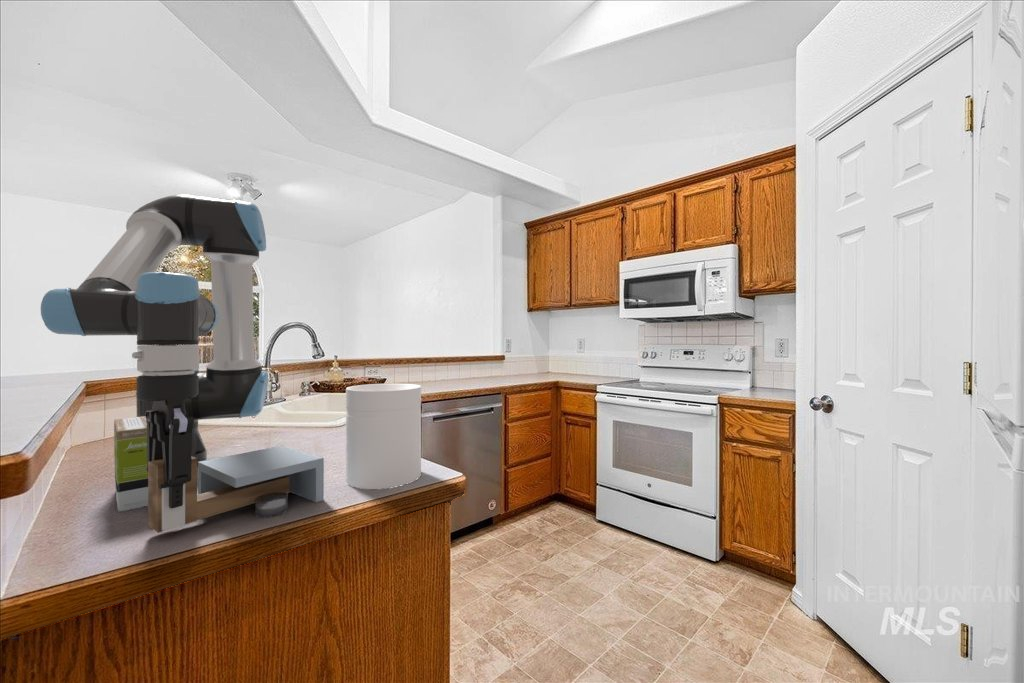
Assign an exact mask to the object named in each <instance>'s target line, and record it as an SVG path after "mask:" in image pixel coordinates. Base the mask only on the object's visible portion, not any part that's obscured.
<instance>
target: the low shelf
mask: <svg viewBox="0 0 1024 683" xmlns="http://www.w3.org/2000/svg"><path fill="white" fill-rule="evenodd" d="M324 460H325V458H324V457H322V456H319V455H316V454H311V453H309V452H305V451H301V450H298V449H294V448H291V447H288V446H284V445H278V446H274V447H268V448H264V449H258V450H253V451H248V452H242V453H237V454H233V455H228V456H227V455H226V456H221V457H216V458H212V459H207V460H205V461H200V462H198V465H197V495H198V494H202V493H206V492H210V491H213V490H217V489H221V488H225V487H229V486H233V487H235V488H237V487H241V486H245V485H249V484H253V483H257V482H261V481H265V480H269V479H273V478H277V477H281V476H285V475H286V476H289V486H290V492H289V493H292V494H295V495H298V496H299V497H302V498H304V499H307V500H309V501H311V500H312V502H314V503H319V502H322V501H324V500H325V499H324V498H325V497H324V491H325V490H324V488H325V487H324V485H325V482H324V480H325V479H324V478H325V476H324V474H325V472H324V471H325V470H324V469H325V468H324V467H325V465H324V462H325V461H324Z"/></svg>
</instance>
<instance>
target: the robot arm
mask: <svg viewBox="0 0 1024 683" xmlns="http://www.w3.org/2000/svg"><path fill="white" fill-rule="evenodd" d="M125 228H126V230H125V231H124V233H123V234H122V236H121V237H120V238H118V240H117V241H116V243H114V245H113V246H112V247H111V249H109V251H108V252H107V254H106V255H105V256H104V257H103V258H102V259H101V261H100V262H99V263H98V264H97V265H96V267H95V268H94V269H93V270H92V271H91V272H90V274H89V275H88V276H87V277H86V278H85V279H84V281H83V282H82V283H81V284H80V285H79V286H78V287H77V288H72V287H66V288H54V289H50V290H48V291H47V292H45V294H44V295H43V297H42V300H41V302H40V316H41V320H42V321H43V323H44V326H45V327H46V328H47V329H48V330H49V331H50V332H52V333H54V334H57V335H68V336H69V335H72V336H73V335H74V336H82V337H86V336H136V351H134V352H132V354H131V357H132V358H133V359H136V360H137V361H136V371H137V372H138V373H142V374H141V375H138V376H137V377H136V387H135V388H136V390H135V391H136V392H135V396H136V417H142V416H145V417H146V423H147V472H148V462H149V461H155V460H160V459H163V467H164V484H161V485H158V487H159V489H162V532H165V531H169V530H173V529H176V528H179V527H182V526H186V524H185V483H186V482H189V481H191V478H192V476H191V461H192V457H195V458H197V466H198V462H200V461H205V460H208V457H207V456H208V451H207V448H206V445H205V444H204V441H203V438H202V436H201V433H200V431H199V421H200V420H215V419H218V420H219V419H234V418H236V419H237V418H238V419H242V418H248V417H257V415H260V414H261V412H262V410H263V408H264V406H265V402H266V397H267V392H268V391H267V390H268V386H269V385H268V384H269V373H268V371H265V370H262V363H261V362H260V361H258V360H257V359H256V358H255V349H254V348H255V344H254V343H255V338H254V337H255V336H254V333H255V332H254V331H255V330H254V290H253V287H254V286H253V283H254V281H253V280H254V279H253V277H254V276H253V265H254V263H256V262H257V261H258V260H259V259H260V252H265V251H266V250H267V238H266V230H265V226H264V221H263V217H262V214H261V211H260V208H258V206H257V205H256V204H254V203H252V202H248V201H242V200H237V199H227V198H218V197H208V196H199V195H198V196H197V195H190V194H174V195H169V196H164V197H160V198H158V199H155V200H153V201H150V202H148V203H145V204H144V205H142V206H141V207H139V208H138V209H136V210H135V211H134V212H133V213H131V215H130V216H129V217H128V219H127V220H126V224H125ZM179 246H190V247H191V246H193V247H202V254H203V256H205V258H207V259H208V260H209V262H210V272H211V273H210V274H211V277H210V280H211V300H210V299H208V298H207V297H205V296H203V295H201V292H200V288H199V280H198V279H197V278H196V277H195V276H192V275H190V274H186V273H185V274H184V273H176V272H164V271H158V270H159V267H160V265H161V264H162V263H163V261H164V259H165V258H166V256H167V255H168V253H169V252H172V251H175V250H176V249H178V247H179ZM211 331H212V340H213V341H212V342H213V343H212V346H213V347H212V349H213V359H212V360H211V362H209V363H208V364H207V365H206V372H200V370H199V369H200V345H199V337H200V336H204V335H207V334H208V333H210V332H211Z"/></svg>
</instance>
